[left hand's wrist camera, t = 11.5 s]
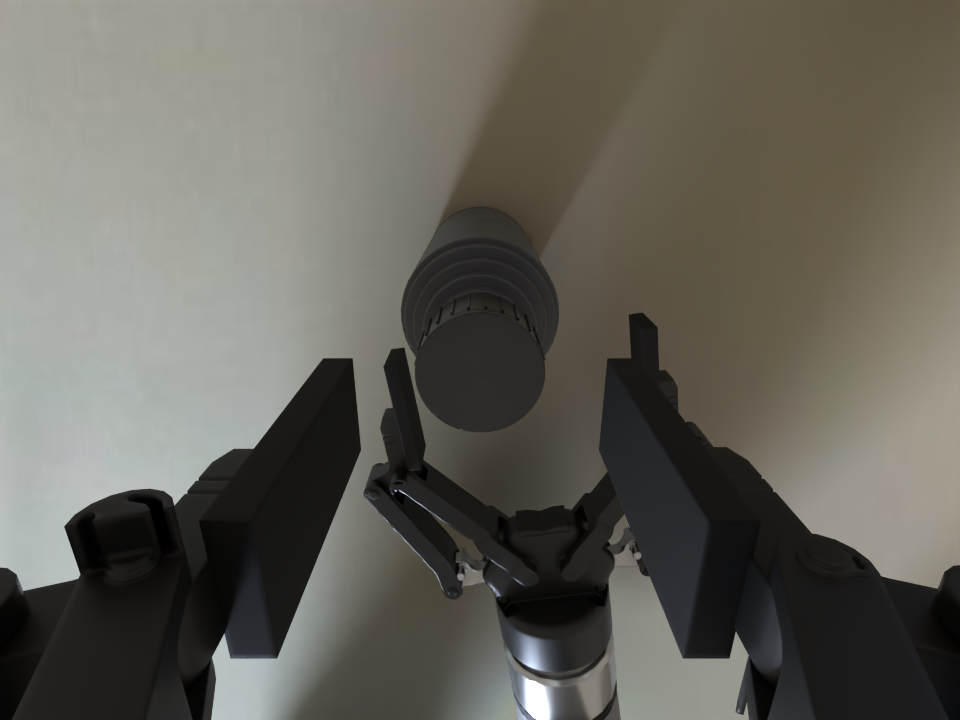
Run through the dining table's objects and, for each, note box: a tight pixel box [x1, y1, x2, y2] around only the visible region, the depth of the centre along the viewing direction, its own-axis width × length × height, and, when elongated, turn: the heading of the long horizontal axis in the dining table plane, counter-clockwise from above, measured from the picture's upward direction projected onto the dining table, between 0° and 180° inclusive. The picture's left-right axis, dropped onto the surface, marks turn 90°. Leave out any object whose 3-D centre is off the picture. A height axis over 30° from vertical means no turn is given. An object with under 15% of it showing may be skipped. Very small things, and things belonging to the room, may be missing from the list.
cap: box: [414, 293, 545, 432], centre depth 17 cm, size 4×4×2 cm
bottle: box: [401, 207, 559, 357], centre depth 25 cm, size 6×6×18 cm
